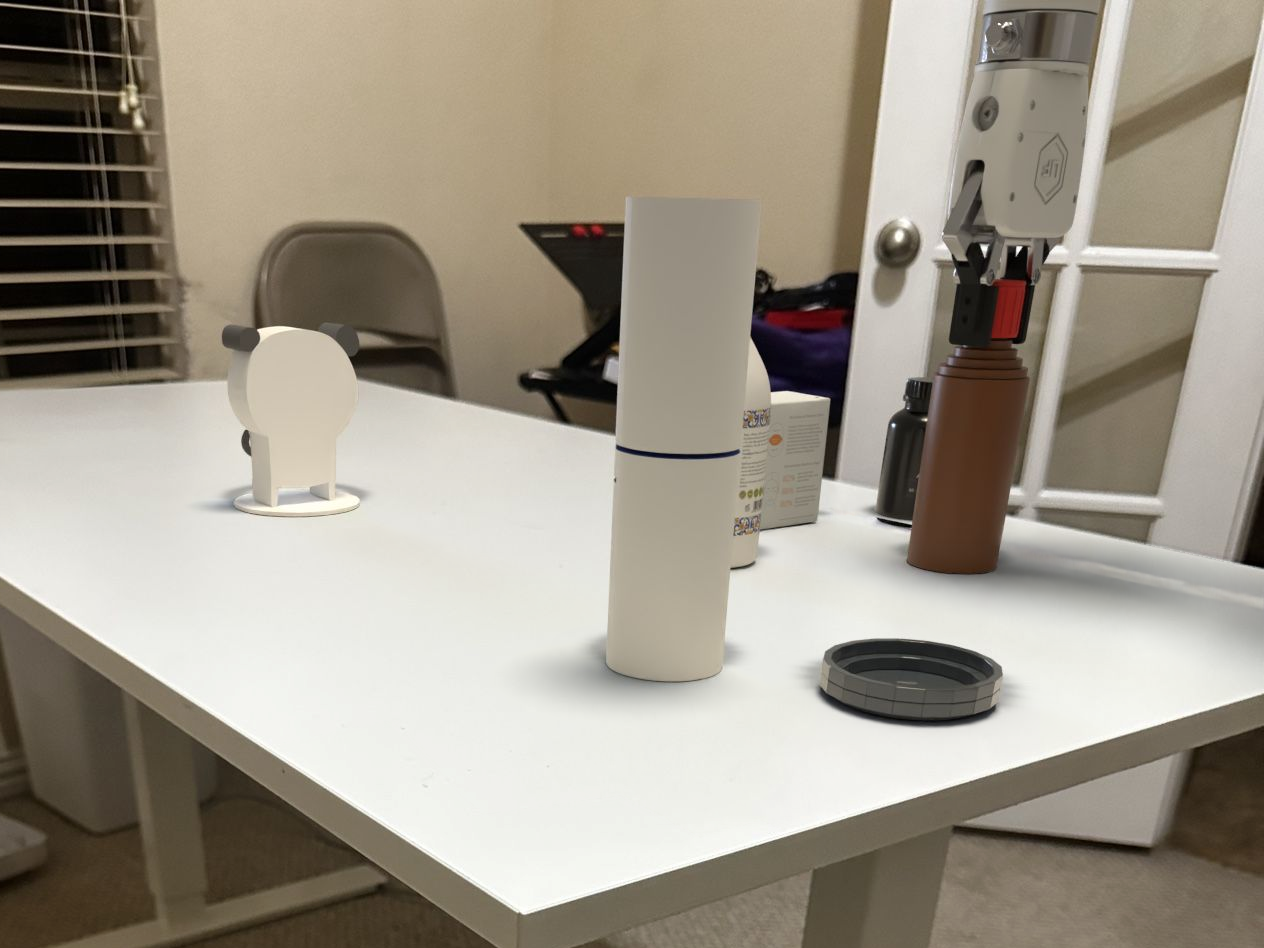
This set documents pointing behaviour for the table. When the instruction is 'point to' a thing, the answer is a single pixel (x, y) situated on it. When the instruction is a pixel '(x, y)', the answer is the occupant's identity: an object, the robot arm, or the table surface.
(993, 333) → the cap
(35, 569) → the table surface
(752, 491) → the bath foam
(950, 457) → the bottle
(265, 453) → the panda figurine
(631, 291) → the cylindrical container
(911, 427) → the supplement bottle
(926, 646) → the saucer
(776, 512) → the small box
